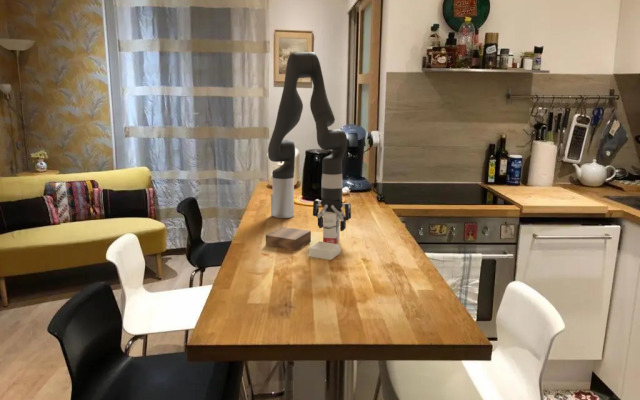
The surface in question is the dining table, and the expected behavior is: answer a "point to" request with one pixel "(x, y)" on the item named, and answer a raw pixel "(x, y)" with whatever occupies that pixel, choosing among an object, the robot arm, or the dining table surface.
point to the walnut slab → (288, 238)
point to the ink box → (331, 227)
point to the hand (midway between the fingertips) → (331, 229)
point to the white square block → (324, 250)
